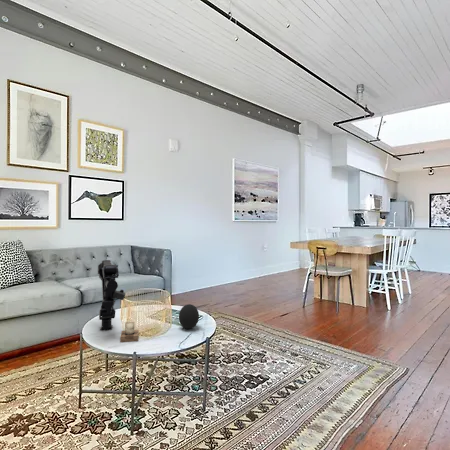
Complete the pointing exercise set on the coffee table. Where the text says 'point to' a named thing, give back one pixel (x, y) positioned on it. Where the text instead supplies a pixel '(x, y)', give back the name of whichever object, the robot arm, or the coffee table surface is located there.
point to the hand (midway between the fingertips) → (109, 314)
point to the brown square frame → (129, 336)
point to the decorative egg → (188, 316)
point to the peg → (129, 327)
